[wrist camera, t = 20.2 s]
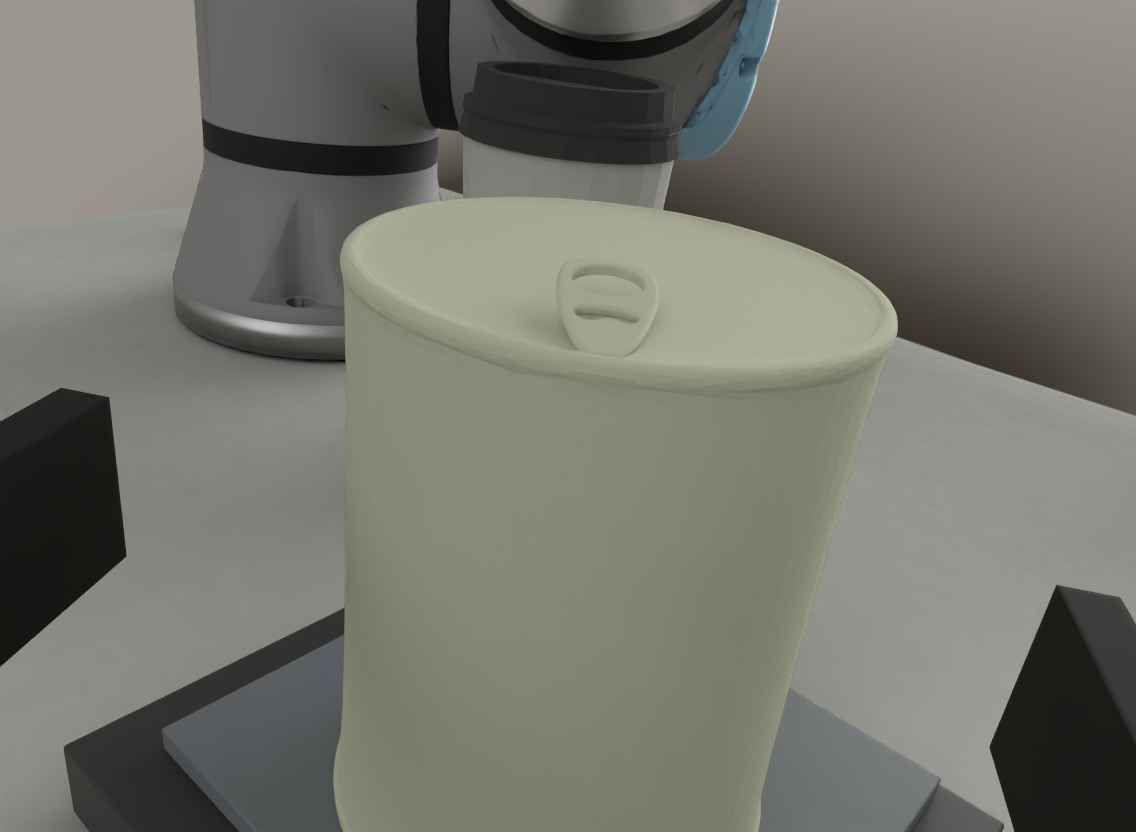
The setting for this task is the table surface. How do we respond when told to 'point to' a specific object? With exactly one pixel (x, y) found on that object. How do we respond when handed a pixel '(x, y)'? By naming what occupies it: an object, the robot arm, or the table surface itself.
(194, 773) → the kitchen scale
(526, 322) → the can
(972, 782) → the table surface
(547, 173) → the coffee cup
